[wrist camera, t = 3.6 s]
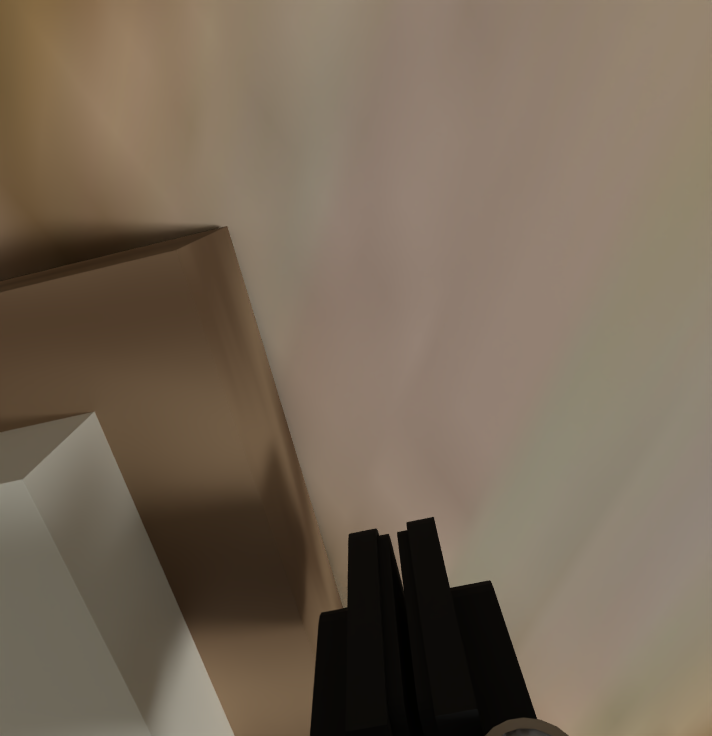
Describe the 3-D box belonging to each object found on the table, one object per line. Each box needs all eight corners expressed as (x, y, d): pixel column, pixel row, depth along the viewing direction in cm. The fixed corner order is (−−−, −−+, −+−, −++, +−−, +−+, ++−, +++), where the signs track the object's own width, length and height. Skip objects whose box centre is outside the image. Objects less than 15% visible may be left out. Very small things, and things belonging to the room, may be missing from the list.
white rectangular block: (-193, 474, 11) (-336, 555, 9) (94, 411, 10) (23, 479, 8) (7, 780, 14) (-60, 899, 12) (237, 741, 13) (213, 857, 11)
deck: (-296, 353, 14) (-530, 420, 10) (227, 226, 13) (176, 250, 9) (-42, 732, 19) (-140, 873, 15) (359, 661, 18) (360, 793, 14)
